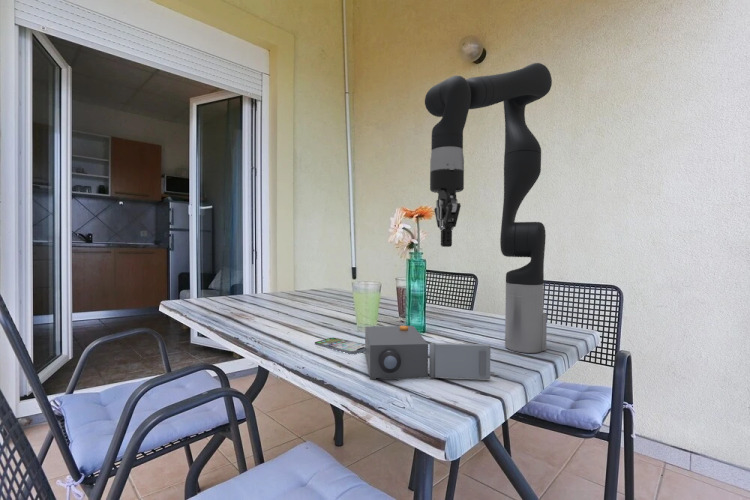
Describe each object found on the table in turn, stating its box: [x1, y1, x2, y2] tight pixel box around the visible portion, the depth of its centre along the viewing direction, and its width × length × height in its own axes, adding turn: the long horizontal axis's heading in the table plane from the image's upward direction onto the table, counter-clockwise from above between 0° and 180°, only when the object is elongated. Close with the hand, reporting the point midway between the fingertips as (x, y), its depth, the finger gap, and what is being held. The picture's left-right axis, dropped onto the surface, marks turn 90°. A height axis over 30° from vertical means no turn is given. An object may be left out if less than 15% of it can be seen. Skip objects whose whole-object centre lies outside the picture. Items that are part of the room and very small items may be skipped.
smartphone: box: [314, 337, 365, 355], centre depth 96 cm, size 7×1×15 cm
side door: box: [428, 342, 491, 380], centre depth 73 cm, size 2×12×7 cm, turn 85°
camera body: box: [364, 325, 429, 380], centre depth 81 cm, size 12×17×8 cm
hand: (446, 246), depth 82 cm, fingers closed
